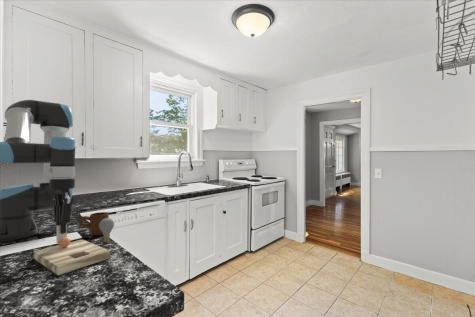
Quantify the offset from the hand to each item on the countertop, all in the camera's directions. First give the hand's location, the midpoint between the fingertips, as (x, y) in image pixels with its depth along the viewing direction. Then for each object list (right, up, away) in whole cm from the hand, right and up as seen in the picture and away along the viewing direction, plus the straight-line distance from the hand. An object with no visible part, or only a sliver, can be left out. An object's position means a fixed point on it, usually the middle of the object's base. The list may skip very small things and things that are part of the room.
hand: (61, 241), depth 84 cm
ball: (+2, 0, -1) cm, 2 cm away
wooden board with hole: (+8, -4, -5) cm, 10 cm away
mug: (-2, -5, +22) cm, 22 cm away
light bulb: (+10, -4, +11) cm, 16 cm away
